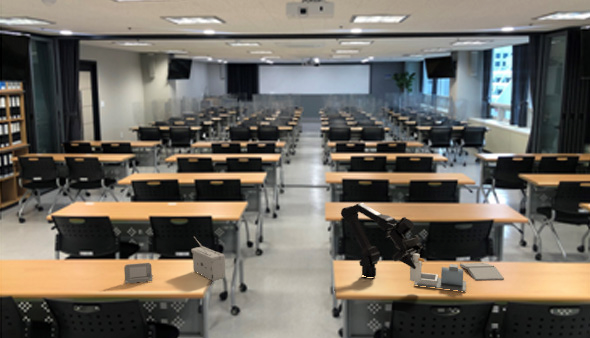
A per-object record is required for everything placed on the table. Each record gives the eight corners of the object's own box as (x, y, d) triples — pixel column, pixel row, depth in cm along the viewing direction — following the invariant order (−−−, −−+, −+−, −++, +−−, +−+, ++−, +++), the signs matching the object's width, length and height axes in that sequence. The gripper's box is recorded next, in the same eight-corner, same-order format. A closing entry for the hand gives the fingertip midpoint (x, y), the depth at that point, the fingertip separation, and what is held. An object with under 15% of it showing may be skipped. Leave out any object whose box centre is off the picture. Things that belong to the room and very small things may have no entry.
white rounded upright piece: (407, 279, 243) (408, 254, 241) (413, 276, 246) (414, 252, 244) (419, 283, 238) (420, 257, 236) (425, 280, 242) (426, 255, 240)
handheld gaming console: (152, 275, 268) (151, 257, 266) (152, 282, 259) (151, 263, 257) (126, 278, 265) (125, 259, 263) (125, 284, 256) (123, 265, 254)
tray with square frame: (414, 286, 249) (414, 266, 248) (417, 277, 262) (417, 257, 260) (465, 292, 241) (466, 271, 240) (466, 282, 253) (467, 262, 252)
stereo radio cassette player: (226, 278, 262) (225, 241, 259) (212, 282, 257) (211, 244, 254) (204, 268, 278) (203, 233, 274) (191, 272, 272) (189, 236, 269)
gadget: (504, 281, 257) (504, 274, 257) (475, 281, 257) (475, 274, 256) (486, 265, 280) (486, 259, 279) (459, 266, 279) (459, 259, 279)
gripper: (398, 234, 235) (418, 263, 229) (420, 227, 248) (439, 253, 242) (384, 247, 242) (403, 275, 236) (406, 239, 255) (424, 265, 249)
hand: (418, 267), depth 241 cm, fingers closed on white rounded upright piece, 5 cm apart
